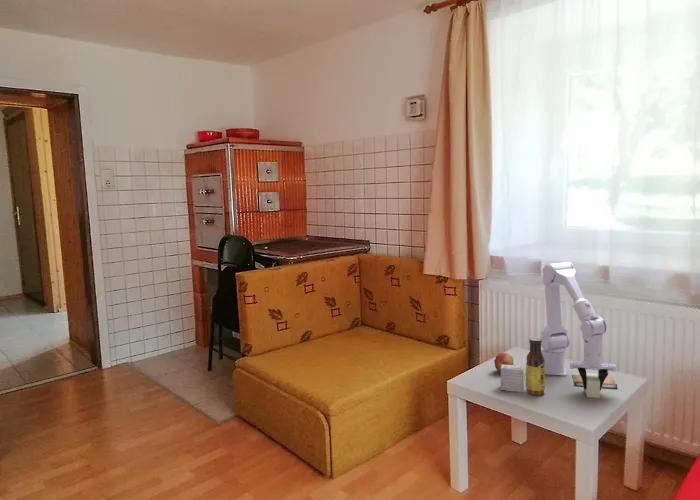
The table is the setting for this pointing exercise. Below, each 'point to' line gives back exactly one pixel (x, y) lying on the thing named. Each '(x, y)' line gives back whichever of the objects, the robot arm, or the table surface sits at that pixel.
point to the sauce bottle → (535, 368)
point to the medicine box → (512, 378)
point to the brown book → (606, 384)
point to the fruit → (503, 360)
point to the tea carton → (592, 385)
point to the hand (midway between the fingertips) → (592, 388)
